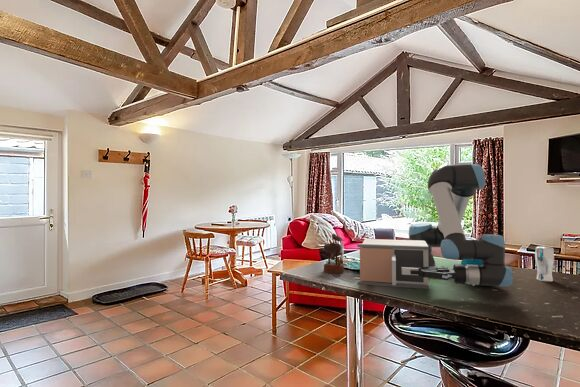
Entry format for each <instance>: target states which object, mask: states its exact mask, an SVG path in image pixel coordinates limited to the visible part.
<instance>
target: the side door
mask: <svg viewBox="0 0 580 387" xmlns="http://www.w3.org/2000/svg"><path fill="white" fill-rule="evenodd" d="M359 280H360V281H374V282H389V283H392V285H396V255H393V254H392V248H367V247H359Z"/></svg>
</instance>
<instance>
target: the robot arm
mask: <svg viewBox="0 0 580 387" xmlns="http://www.w3.org/2000/svg"><path fill="white" fill-rule="evenodd" d="M485 174H486V173H485V170H484V169H483V167H482V166H481V164H478V163H477V164H476V163H467V164H466V163H462V164H459V163H458V164H454V163H453V164H450V163H449V164H442V165H439V166H438V167H436V168H435V169H434V170H433V171H432V172H431V174H430V175H429V177H428V180H427V189H428V193H429V195H431V196H432V198H433V202H434V206H435V209H436V213H437V216H438V220H439V222H438V223H437V225H432V223H430V222H429V223H428V222H425V223H423V222H422V223H416V224H415V223H414V224H412V225H410V226H409V228H408V240H422V241H425V242H426V243H427V245H428V247H429V250H428V267H419V268H410V267H402V274H403V275H419V276H421V277H426V278H429V279H433V280H434V279H435V280H443V281H448V280H450V279H453V282H454V284H456V285H457V284H458V285H465V284H466V285H471V286H472V287H475V286H480V285H484V286H489V287H497V288H499V287H511V285H512V284H513V281H514V276H513V270H512V267H510V266H506V264H505V263H506V262H505V258H506V257H505V256H506V244H505V237H504V236H503V235H500V234H493V233H491V234H490V233H485V234H481V239H466V235H465V232H464V230H463V226H462V221H463V218H464V215H465V213H466V210H467V208H468V204H469V202H470V199H471V197H473V196H475V195H476V193H477V191H478V190H479V191H480V190H483V189H484V188H485V186H486V175H485ZM433 248H440V253H441V255H442V258H444V259H447V260H454V261H455V260H456V261H457V260H462V259H474V260H482V265H467V264H466V265H463V264H461V263H454V264H453V268H449V267H447V266H445V267H444V266H442V265H441V266H436V261H435V258H434V255H433Z"/></svg>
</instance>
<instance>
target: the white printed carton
mask: <svg viewBox="0 0 580 387" xmlns="http://www.w3.org/2000/svg"><path fill="white" fill-rule="evenodd" d="M534 259H535V260H534V261H535V265H536V270H537V271H536V280H537V281H539V282H540V281H541V282H546V283H548V282H549V283H551V282H553V281H554V279H553V274H552V273H553V268H554V263H555V250H554V247H552V246H542V245H541V246H539V245H538V246H535V251H534Z"/></svg>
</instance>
